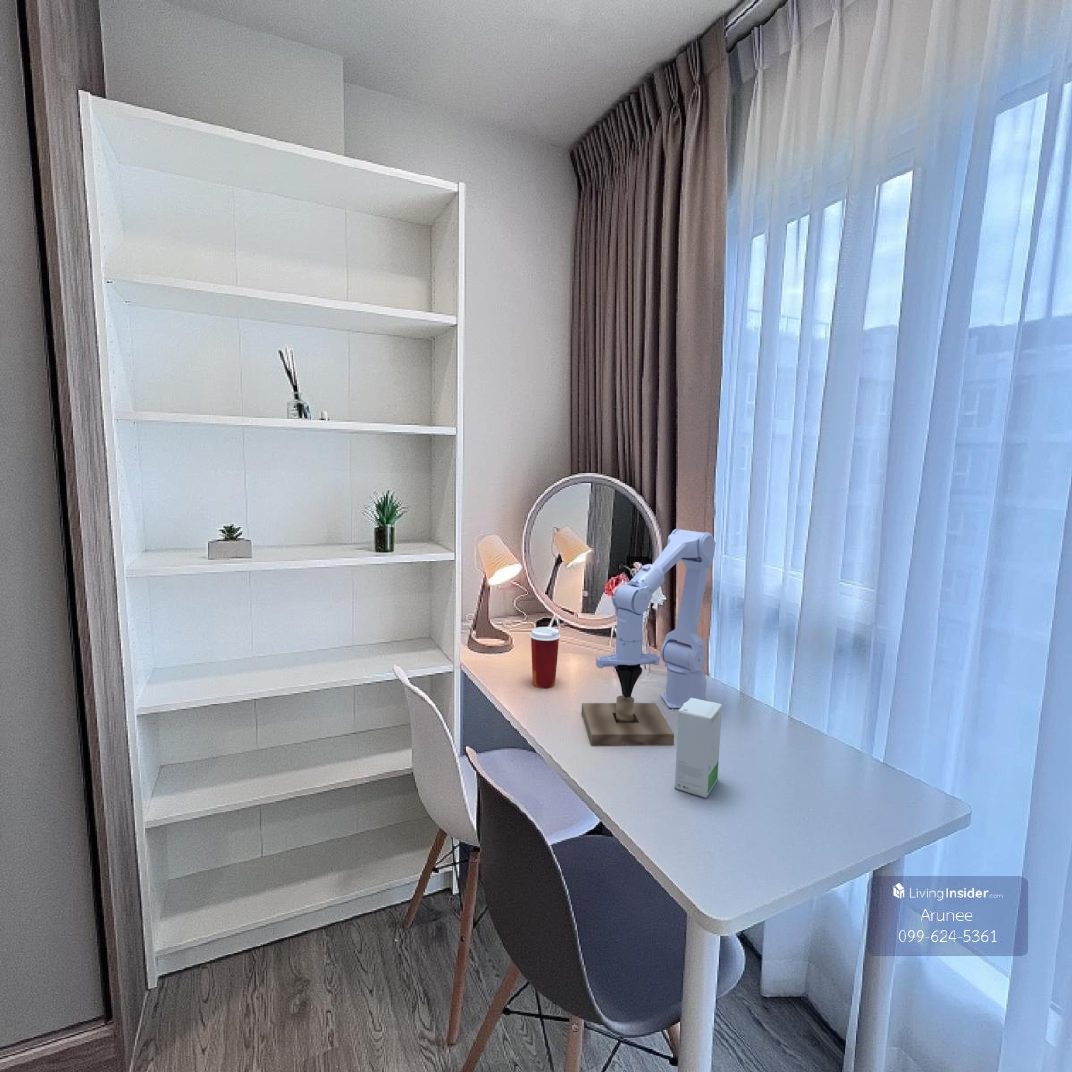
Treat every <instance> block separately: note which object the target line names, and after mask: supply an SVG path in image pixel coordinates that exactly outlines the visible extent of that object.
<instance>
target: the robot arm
mask: <svg viewBox="0 0 1072 1072" xmlns="http://www.w3.org/2000/svg"><path fill="white" fill-rule="evenodd" d="M716 544H717V543H716V541H715V539H714V537H713V535H712V533H710V532H707V531H706V532H701V531H695V530H693V531H692V530H686V529H681V528H675V529H673V530H672V532H671V533H670V534H669V535H668V536H667V545H666V546H665V548H664V549H663V550H662V551H661V553H660V554H659V556H658V557H657V558H656V559H655V561H654V562H652V564H651V563H648V564H644V565H643V566H642V567H641V569H640V570H639V571H638V572H637V573H636V574H635V575H634V576H633V577H632V578H631V580H629V581H628V582H627V584H624V583H623V584H621V585H619V586H618V587H616V588H615V590H614V593H613V597H611V602H612V605H613V607H614V614H615V616H616V635H615V638H616V639H615V653H613V654H609V655H604V656H598V657H596V659H595V665H596V667H597V669H603V668H608V667H613V668H614V669H615V672H616V674H617V678H618V680H619V683H620V689H621V695H623V696H624V697H625V698H627V697H632V693H633V690H634V687H635V685H636V683H637V681H638V679H639V678H640V677H641V675H642V673H643V667H641V665H642V666H643V665H644V666H645V665H654V666H659V665H660V659H661V661H662V662H663V663H664V667H666V684H665V685H666V686H665V693H661V694H660V697H661V698H662V700H663V702H664V704H666V706H667V708H669V709H680V708H681V707H682V706H683V704H684V703H685V702H687V701H688V700H689V699H690V698H695V699H700V700H704V701H706V694H707V693H706V692H707V677H706V672H705V671H704V669H703V666H704V665H705V660H706V653H705V647H706V642H705V641H704V639H703V638H701V636H700V635H699V634H698V633H697V631H698V627H699V622H700V615H701V610H702V604H703V599H704V593H705V587H706V582H707V577H708V572H709V568H710V567H712V566H713V560H714V557H715V551H716V546H717V545H716ZM679 561H680V562H681V563H683V565H684V566H685V568H686V571H685V576H684V579H683V581H684V582H683V587H682V593H681V597H680V603H679V607H678V608H679V610H678V615H677V620H676V625H675V629H673V630H671V631H670V632H667V634H666V635H665V638H664V641H663V644H662V645H661V648H660V656H659V654H657V653H642V648H643V647H642V645H643V644H642V643H643V627H644V624H643V623H644V613H645V612H647V611H648V609H649V606H650V602H651V600H652V598H653V595H654V593H655V592H656V591H657V590H658V589H659V588H660V587H661V586H662V584H663V583H664V582H665V574H666V573H667V572H669V570H670V569H671V568H673V566H675V565H676V564H677V563H678V562H679Z"/></svg>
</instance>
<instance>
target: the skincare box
mask: <svg viewBox="0 0 1072 1072" xmlns="http://www.w3.org/2000/svg"><path fill="white" fill-rule="evenodd" d="M722 707H723V704H722V703H719V702H713V701H709V700H705V701H704V700H700V699H695V698H690V699H689V700H688V701H687V702H685V703H684V704H683V706H682V707H681V708H678V712H677V731H676V732H677V733H676V735H677V736H676V753H675V754H676V755H675V759H676V760H675V776H674V777H675V778H674V789H677V790H679V791H683V792H684V793H685V792H686V793H689V794H692V795H694V796H697V797H702V798H706V799H707V798H708V797H709V794H710V793H711V791H712V790H713V788H714V786H715V785H716V783H717V781H718V777H719V762H720V761H719V760H720V745H721V744H720V741H721V740H720V739H721V726H722V723H721V722H722Z"/></svg>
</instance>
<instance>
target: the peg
mask: <svg viewBox="0 0 1072 1072" xmlns="http://www.w3.org/2000/svg"><path fill="white" fill-rule="evenodd" d="M615 703H616V723H633V721H634V703H635V698H634V697H632V696H631V697H627V698H625V697H624V696H623V695H622V694H621V695H618V696H616V701H615Z"/></svg>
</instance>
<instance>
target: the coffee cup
mask: <svg viewBox="0 0 1072 1072" xmlns="http://www.w3.org/2000/svg"><path fill="white" fill-rule="evenodd" d="M529 637H530V644H531V645H530V646H531V672H532V685H533V686H534V687H536V688H538V689H550V687H551V688H554V686H555V684H556V676H557V668H558V667H557V665H558V654H559V643H560V638H561V634H560V631H559V630H558V629H557V628H554V627H551V626H550V627H549V626H538V627H534V628H533V629H532V630H531V632H530V634H529Z"/></svg>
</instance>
